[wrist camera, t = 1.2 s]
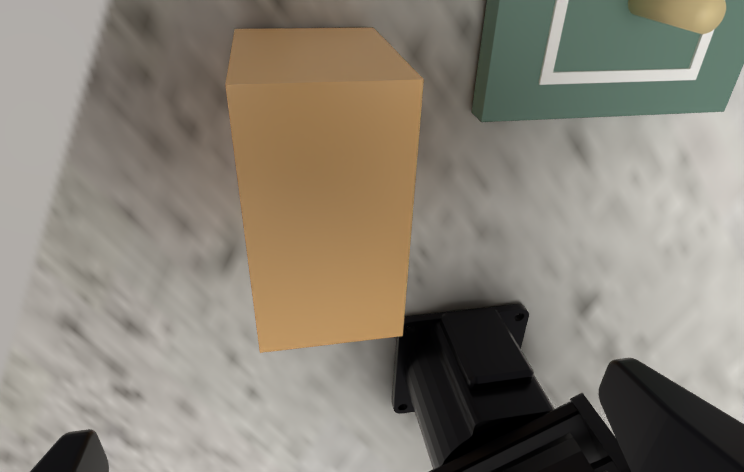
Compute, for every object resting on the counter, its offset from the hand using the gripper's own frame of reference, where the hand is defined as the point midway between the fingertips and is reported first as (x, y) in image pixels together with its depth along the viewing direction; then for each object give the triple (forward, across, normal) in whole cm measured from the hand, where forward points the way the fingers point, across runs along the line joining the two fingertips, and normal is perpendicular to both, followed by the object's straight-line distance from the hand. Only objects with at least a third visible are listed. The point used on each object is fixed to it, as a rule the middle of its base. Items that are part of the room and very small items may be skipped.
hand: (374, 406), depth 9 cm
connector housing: (+12, 0, 0) cm, 12 cm away
